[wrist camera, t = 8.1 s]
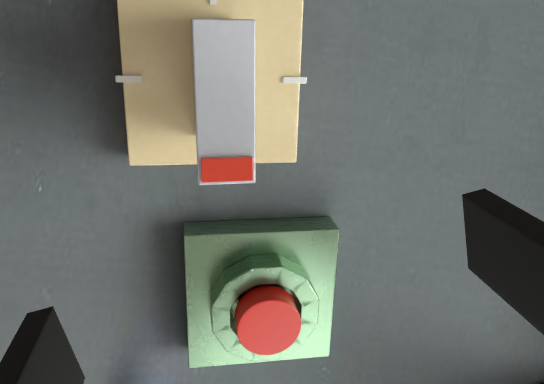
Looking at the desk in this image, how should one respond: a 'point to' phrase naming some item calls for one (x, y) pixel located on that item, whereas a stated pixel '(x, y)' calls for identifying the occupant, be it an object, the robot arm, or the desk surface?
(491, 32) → the desk surface
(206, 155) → the tap handle
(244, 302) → the stop button
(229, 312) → the control block
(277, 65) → the panel
